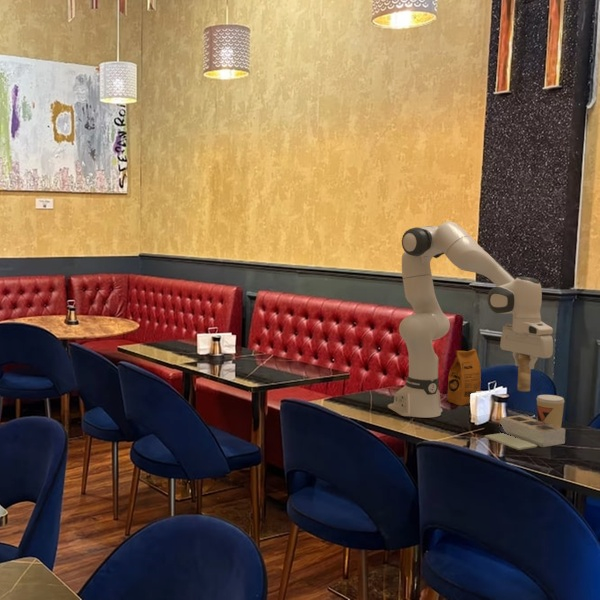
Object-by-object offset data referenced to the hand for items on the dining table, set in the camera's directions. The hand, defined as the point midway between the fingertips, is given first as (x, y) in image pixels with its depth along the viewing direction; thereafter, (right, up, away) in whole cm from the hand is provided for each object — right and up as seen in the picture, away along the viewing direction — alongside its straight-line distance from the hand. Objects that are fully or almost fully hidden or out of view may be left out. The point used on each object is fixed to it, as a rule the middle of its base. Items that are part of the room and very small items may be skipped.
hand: (524, 367), depth 239 cm
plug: (0, -8, +1) cm, 8 cm away
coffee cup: (+14, -24, +16) cm, 32 cm away
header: (+5, -25, +7) cm, 26 cm away
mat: (-4, -25, +1) cm, 25 cm away
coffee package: (-7, -20, +57) cm, 61 cm away
